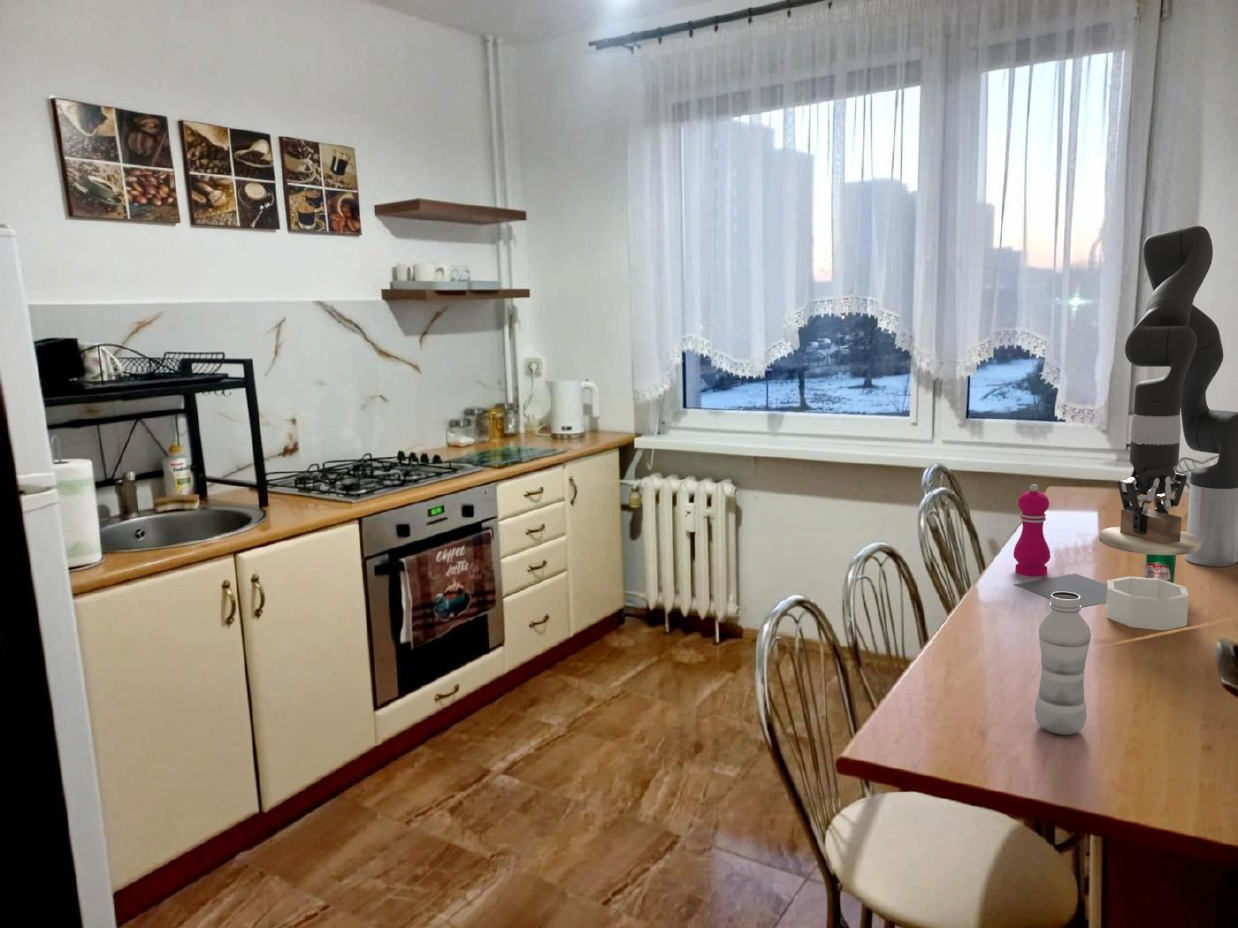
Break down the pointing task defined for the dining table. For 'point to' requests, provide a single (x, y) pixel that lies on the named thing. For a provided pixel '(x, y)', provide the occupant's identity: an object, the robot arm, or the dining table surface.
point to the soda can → (1160, 567)
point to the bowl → (1147, 603)
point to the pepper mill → (1032, 534)
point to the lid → (1151, 535)
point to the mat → (1070, 588)
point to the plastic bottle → (1062, 666)
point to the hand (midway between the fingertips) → (1149, 531)
